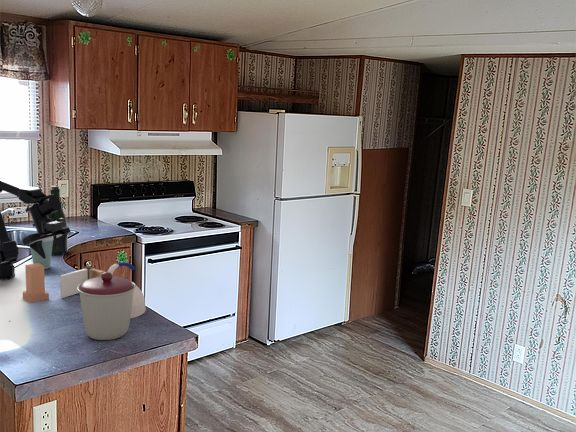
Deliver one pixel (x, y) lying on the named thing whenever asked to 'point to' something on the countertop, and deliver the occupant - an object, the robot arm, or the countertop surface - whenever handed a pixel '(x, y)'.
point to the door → (72, 282)
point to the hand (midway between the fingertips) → (54, 255)
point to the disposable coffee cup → (47, 249)
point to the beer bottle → (54, 217)
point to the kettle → (138, 297)
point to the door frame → (93, 272)
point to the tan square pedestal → (35, 283)
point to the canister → (106, 306)
